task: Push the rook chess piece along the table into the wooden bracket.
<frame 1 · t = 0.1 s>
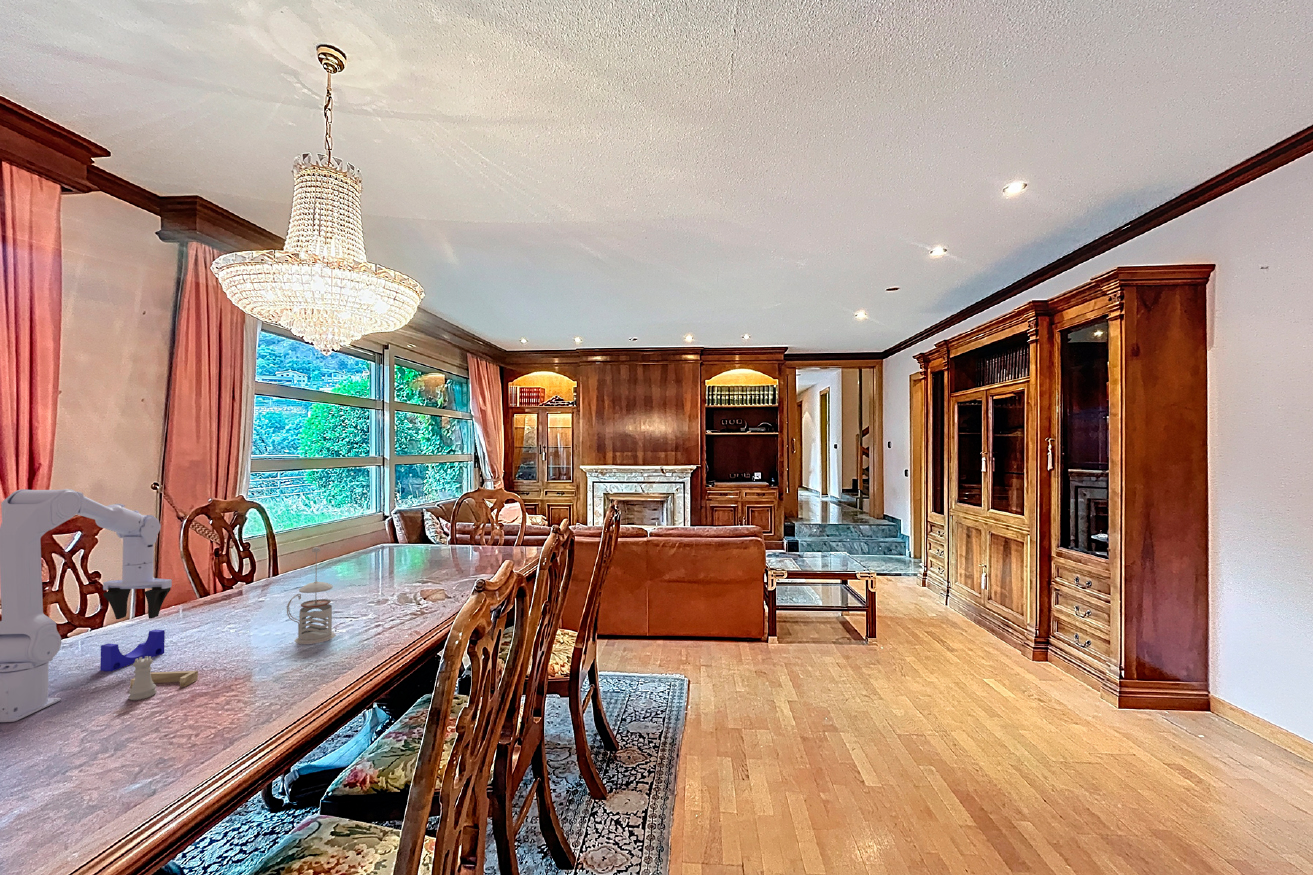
hand: (137, 617, 140), 10 cm above the table, tool pointing down, fingers open, 7 cm apart
rook chess piece: (142, 697, 118), on the table
french press: (311, 638, 154), on the table
wooden bracket: (164, 684, 124), on the table
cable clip: (131, 662, 138), on the table
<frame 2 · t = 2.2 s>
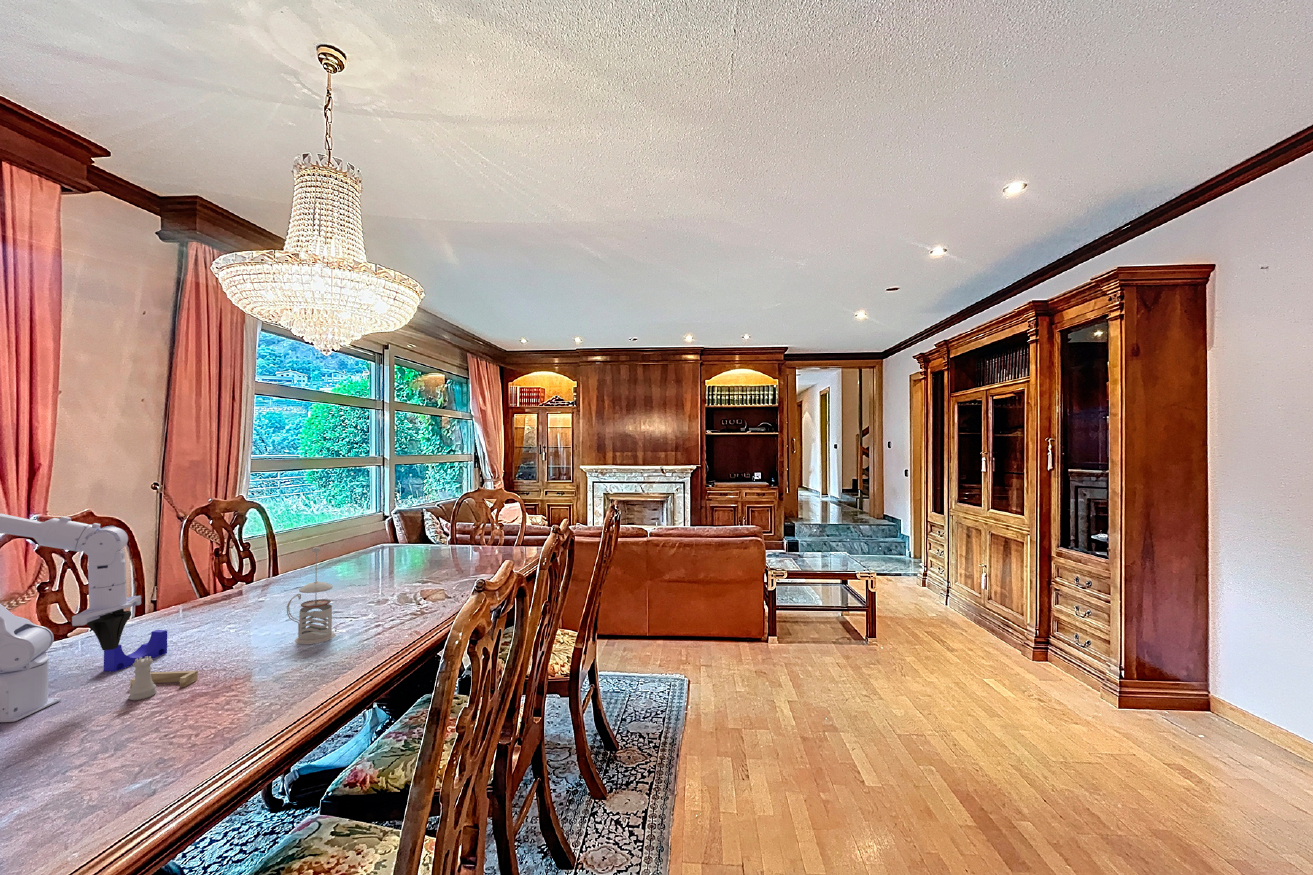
hand: (110, 648, 119), 10 cm above the table, tool pointing down, fingers closed
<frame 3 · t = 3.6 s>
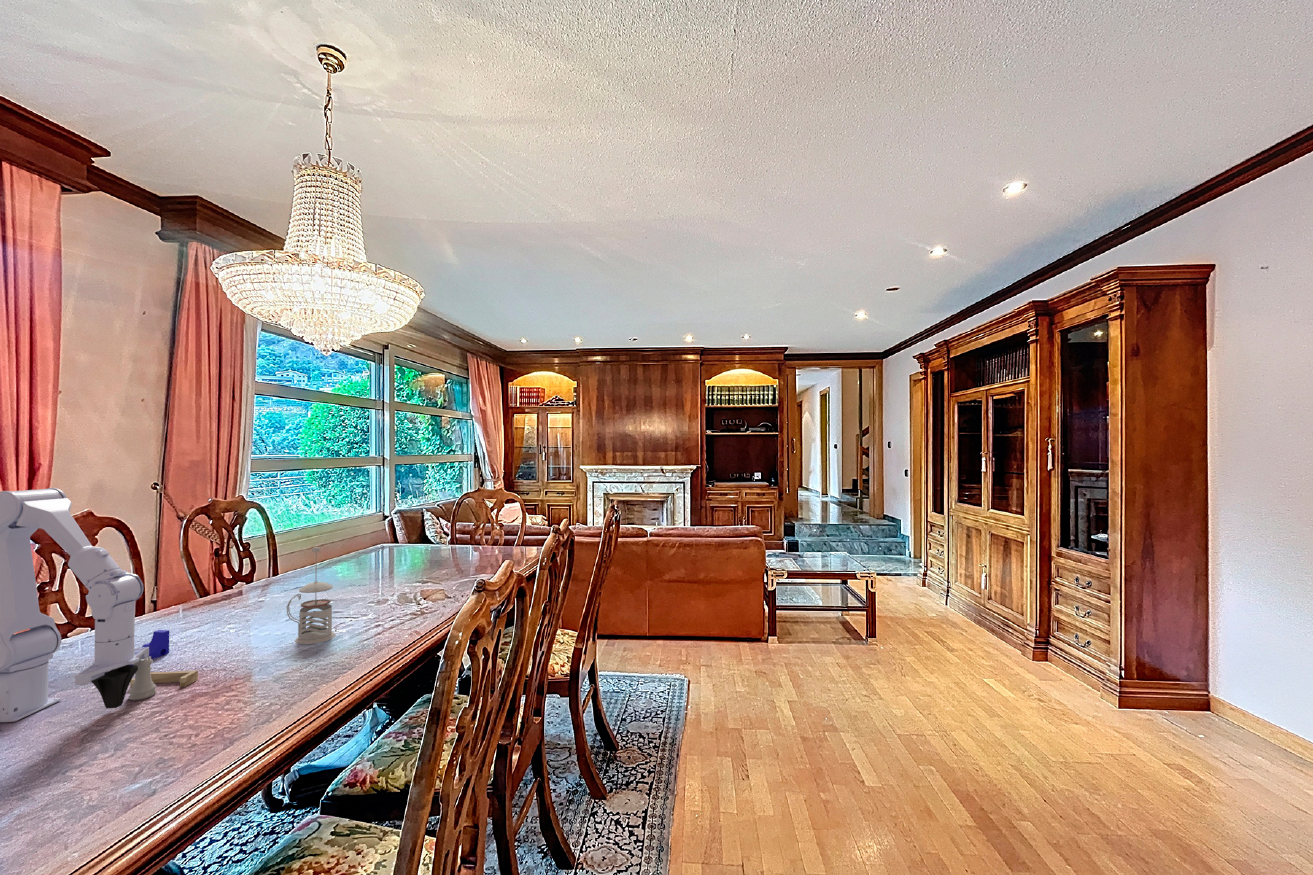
hand: (113, 706, 111), 1 cm above the table, tool pointing down, fingers closed
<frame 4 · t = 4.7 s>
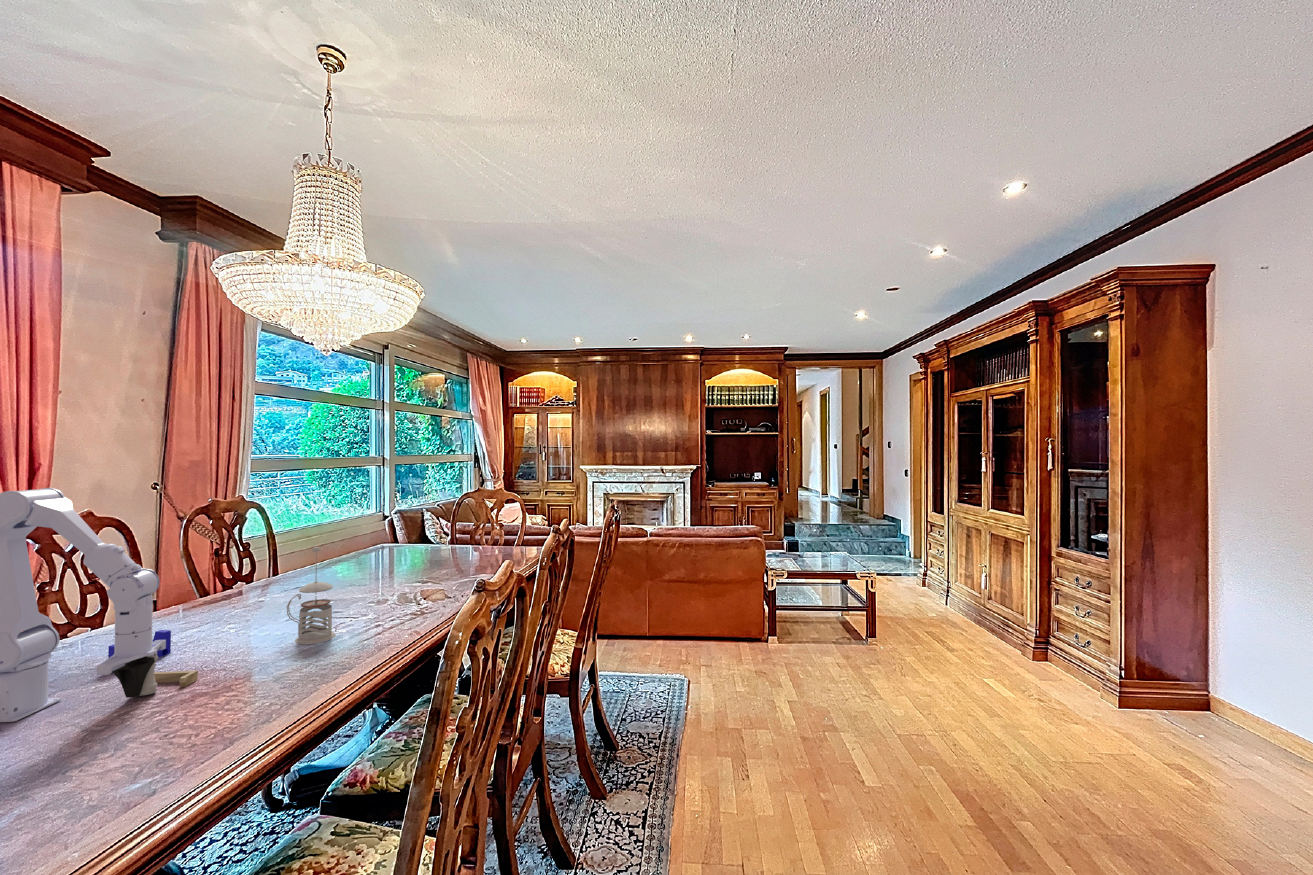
hand: (132, 696, 116), 1 cm above the table, tool pointing down, fingers closed
rook chess piece: (142, 694, 118), on the table, touching gripper
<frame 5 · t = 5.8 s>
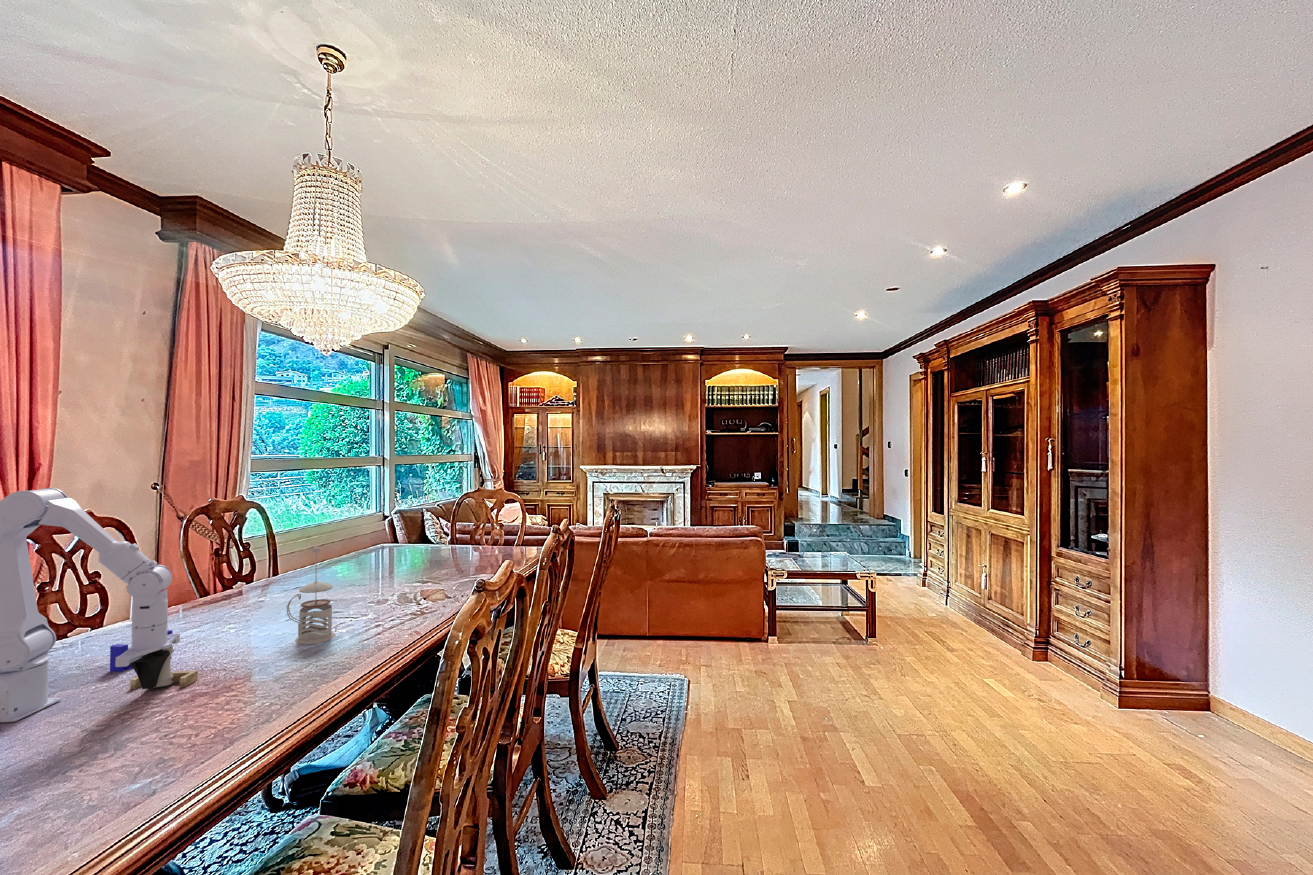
hand: (149, 687, 120), 1 cm above the table, tool pointing down, fingers closed
rook chess piece: (159, 686, 123), on the table, touching gripper
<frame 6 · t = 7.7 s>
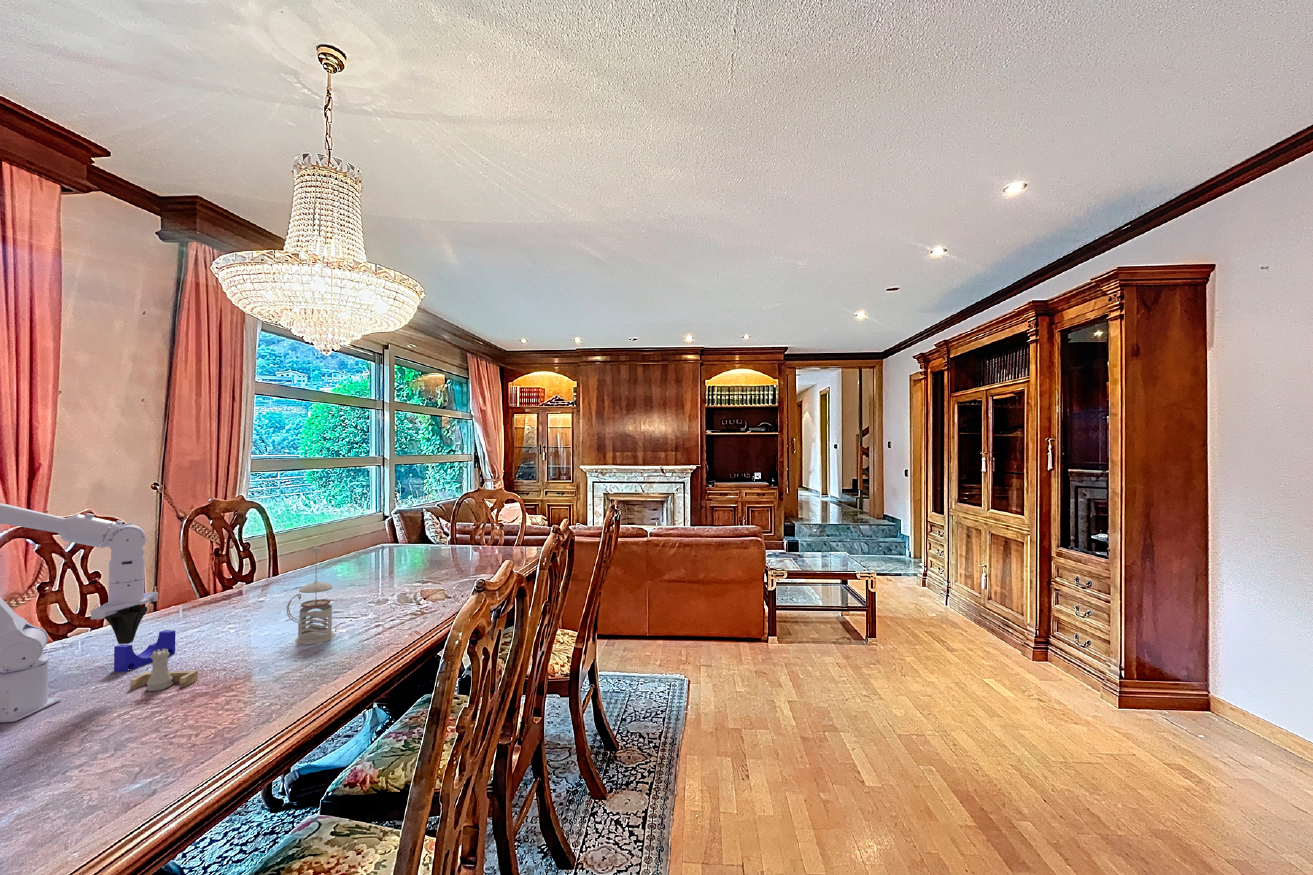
hand: (125, 642, 122), 10 cm above the table, tool pointing down, fingers closed
rook chess piece: (159, 688, 123), on the table
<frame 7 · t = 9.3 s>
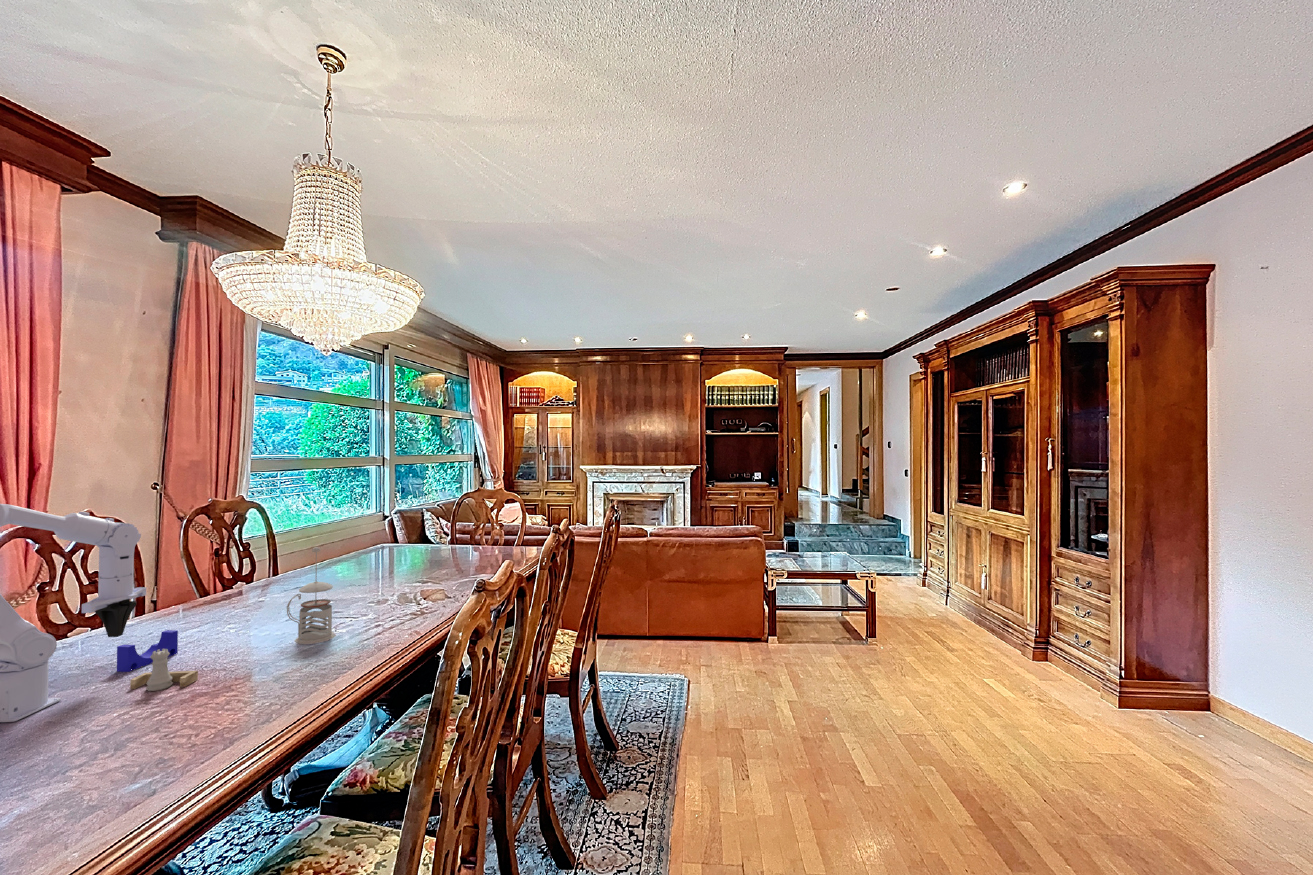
hand: (115, 635, 127), 10 cm above the table, tool pointing down, fingers closed
at the end: rook chess piece 0.7 cm from the target spot on the wooden bracket, point 0.0 cm above the wooden bracket's base; rook chess piece tilted 0°; rook chess piece moved 4.3 cm from its start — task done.
